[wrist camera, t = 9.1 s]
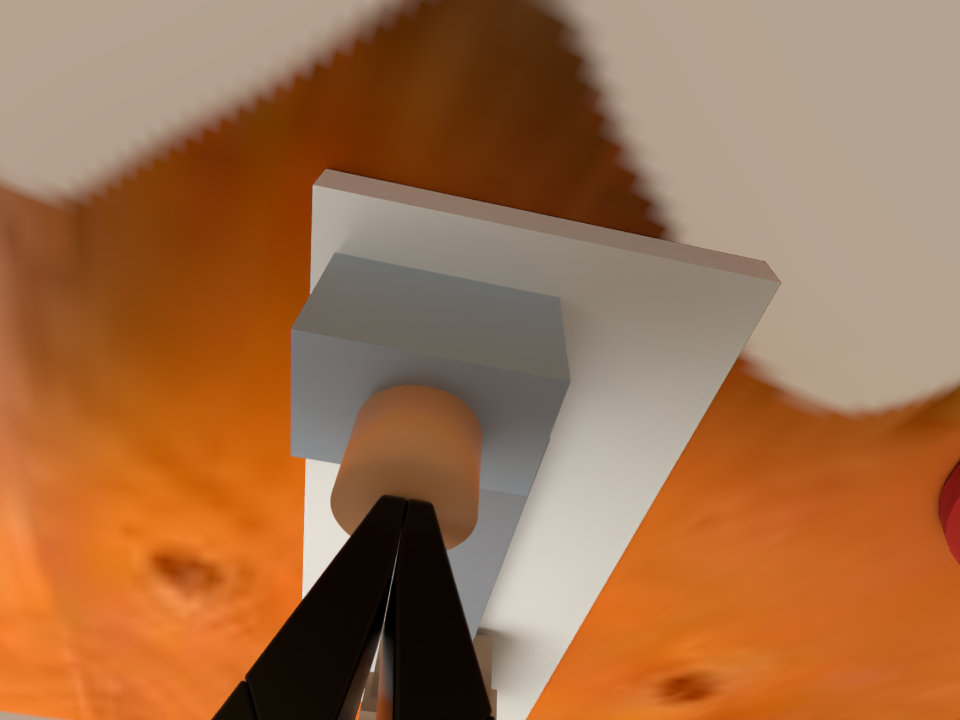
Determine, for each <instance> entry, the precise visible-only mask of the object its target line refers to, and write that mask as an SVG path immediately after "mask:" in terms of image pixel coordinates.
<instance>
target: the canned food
mask: <svg viewBox="0 0 960 720" xmlns="http://www.w3.org/2000/svg"><path fill="white" fill-rule="evenodd" d="M939 518H940V521H941V524H942V527H943V531H944V534H945V537H946V540H947V543H948V546H949V549H950V552H951V553H952V555H953V556H954V557H955V559H956V560H957V562H958V563H959V564H960V464H959V465H958V466H957V467H956V469H955V470H954V472H953V473H952V475H951V476H950V477H949V479H948V480H947V482H946V483H945V486H944V488H943V491H942V494H941V496H940V499H939Z"/></svg>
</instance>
